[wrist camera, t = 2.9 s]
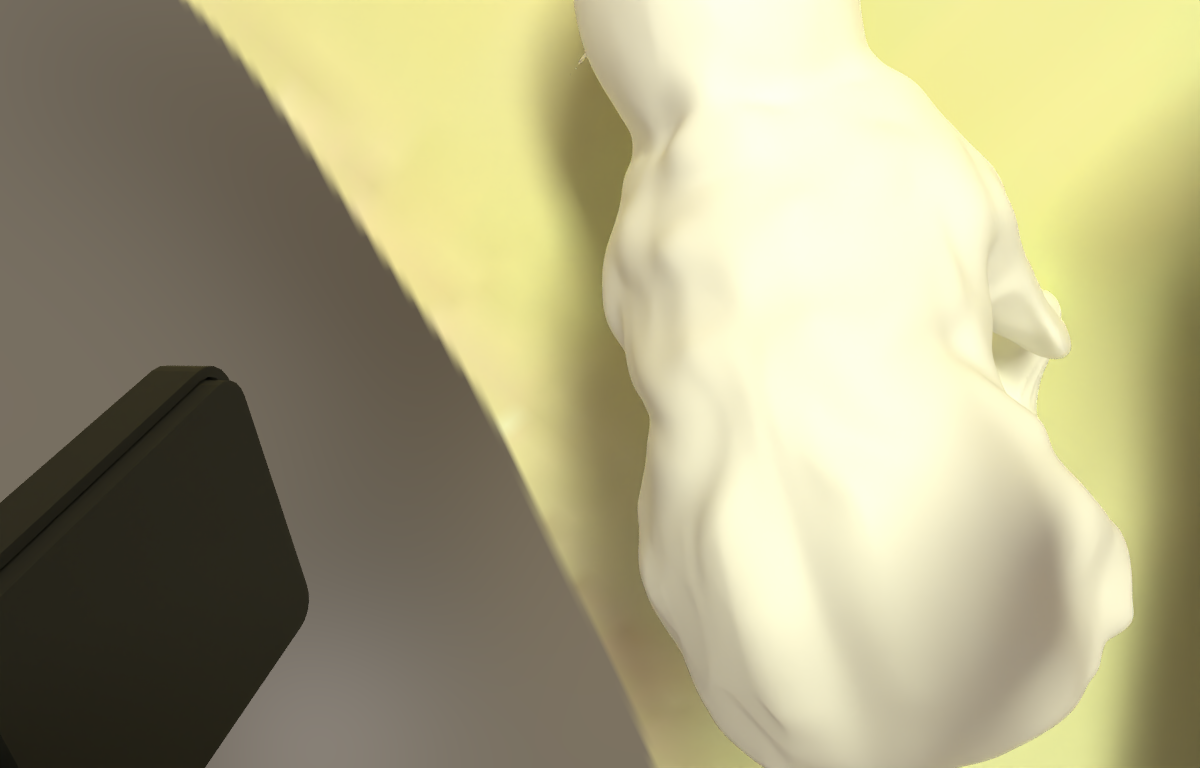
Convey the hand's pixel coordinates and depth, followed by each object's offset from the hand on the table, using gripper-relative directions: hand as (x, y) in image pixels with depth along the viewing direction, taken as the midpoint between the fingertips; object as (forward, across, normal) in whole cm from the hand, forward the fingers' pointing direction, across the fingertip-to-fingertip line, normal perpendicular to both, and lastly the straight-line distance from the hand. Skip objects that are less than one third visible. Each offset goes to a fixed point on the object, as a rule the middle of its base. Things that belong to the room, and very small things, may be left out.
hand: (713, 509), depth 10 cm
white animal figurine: (+10, 0, +1) cm, 10 cm away
